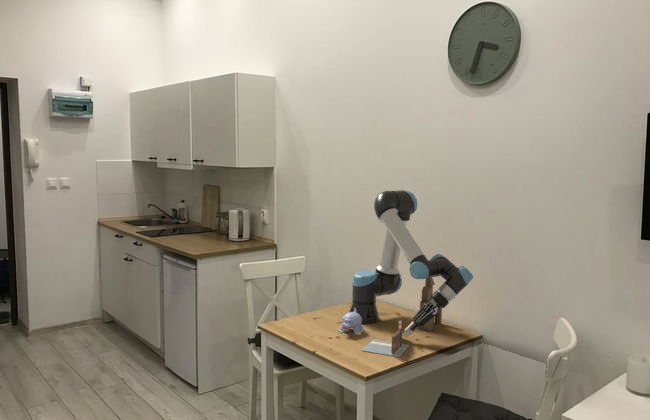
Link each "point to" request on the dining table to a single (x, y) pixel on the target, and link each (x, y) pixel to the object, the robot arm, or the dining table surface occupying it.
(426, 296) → the wooden toy
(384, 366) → the dining table surface
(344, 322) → the hippopotamus toy
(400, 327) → the fence panel
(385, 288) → the robot arm
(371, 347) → the card
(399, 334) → the fence fixed
